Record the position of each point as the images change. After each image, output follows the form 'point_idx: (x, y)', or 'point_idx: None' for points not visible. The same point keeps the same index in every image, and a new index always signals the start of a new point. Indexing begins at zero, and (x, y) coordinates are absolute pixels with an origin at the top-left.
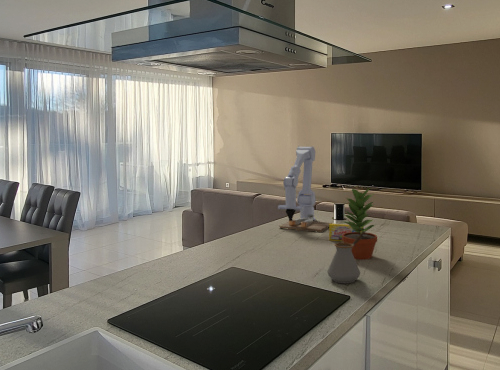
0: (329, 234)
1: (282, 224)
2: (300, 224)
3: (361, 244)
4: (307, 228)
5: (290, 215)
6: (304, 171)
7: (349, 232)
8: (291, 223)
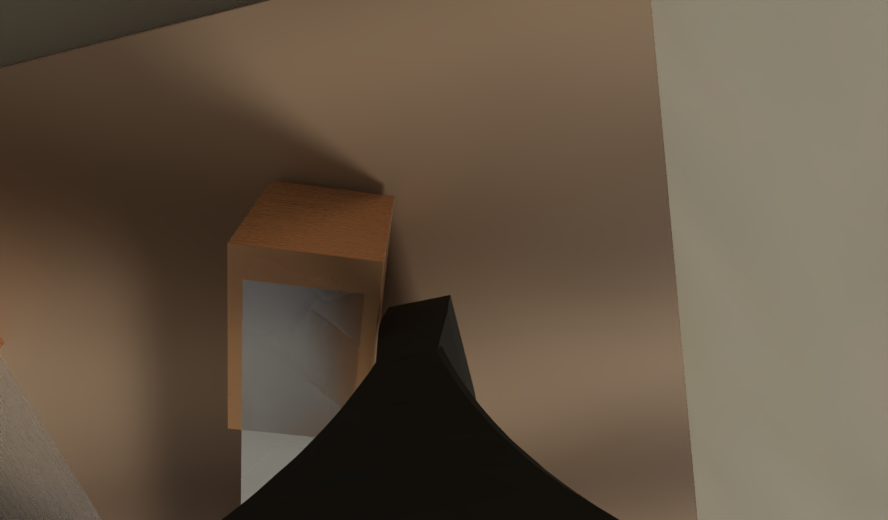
0: None
1: (664, 192)
2: (224, 462)
3: None
4: None
5: (322, 463)
6: None
7: None
8: (266, 209)
